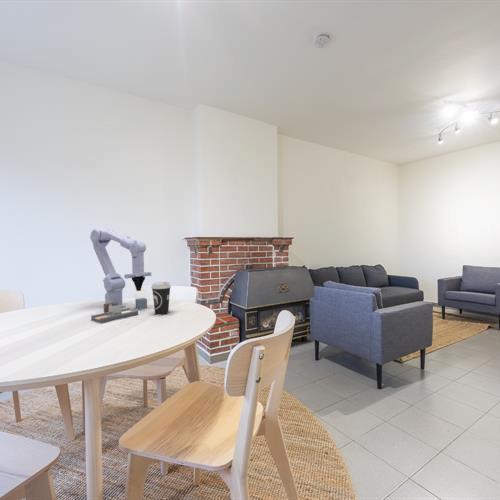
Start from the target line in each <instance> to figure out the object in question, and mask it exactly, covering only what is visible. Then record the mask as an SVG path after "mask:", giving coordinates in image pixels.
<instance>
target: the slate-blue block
mask: <svg viewBox="0 0 500 500" xmlns="http://www.w3.org/2000/svg"><path fill="white" fill-rule="evenodd" d="M135 309H136V310H143V309H148V299H147V298H146V297H141V298H135Z"/></svg>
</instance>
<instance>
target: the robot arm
mask: <svg viewBox="0 0 500 500" xmlns="http://www.w3.org/2000/svg"><path fill="white" fill-rule="evenodd" d="M89 238H90V240H91V243H92V247H93V250H94V252H95V255H96V257H97V259H98V262H99V265H100V266H101V268H102V271H103V274H104V275H105V276H104V278H103V280H102V281H103V286H104V289H105V291H106V292H105V294H104V304H106V303H110V302H115V303H118V304H120V305H121V308H123V307H126V306H127V305H126V304H123V303H124V302H123V290H124V288H125V287H126V281H125V280H126V279H127V280H128V279H131V280H132V282H133V284H134V286H135V290H136V291H137V292H140V291H142V288H143V287H142V286H143V283H144V282H145V280H146V277H152V272H151V271H148V272H145V257H144V253H145V252H146V249H147V247H146V246H147V245H146V244H145V243H144V242H141V241H139V242H138V240H136V239H132V238H131V236H124V237H123V236H122V235H119V234H117V233H116V232H114V231H113V230H110V229H96V228H95V229H92V231H91V232H90V235H89ZM111 240H112V241H114V242H117V243H118V244H120V246H121V247H122V248H125V249H126V250H129V252H130V255H131V262H132V263H131V264H132V267H131V268H132V273H127V274H124V275H123V277H122V275H121V274H119V273H118V272H116V269H115V267H114V265H113V262H112V260H111V258H110V256H109V253H108V251H107V249H106V247H108V245H109V243H110V242H111Z"/></svg>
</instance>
